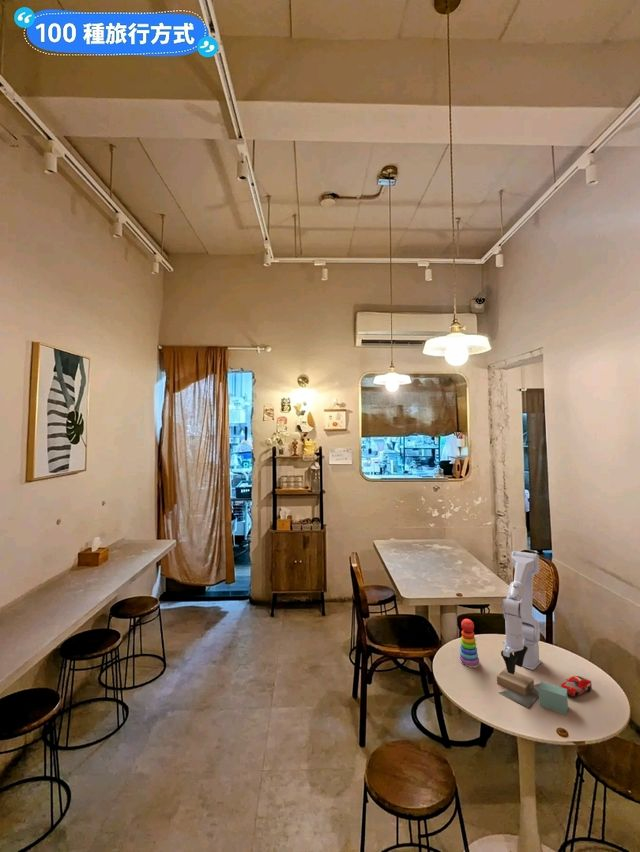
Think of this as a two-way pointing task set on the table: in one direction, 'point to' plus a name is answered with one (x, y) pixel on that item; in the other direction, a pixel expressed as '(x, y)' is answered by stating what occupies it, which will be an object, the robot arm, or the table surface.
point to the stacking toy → (468, 644)
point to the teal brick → (553, 697)
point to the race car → (577, 685)
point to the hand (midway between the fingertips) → (514, 669)
